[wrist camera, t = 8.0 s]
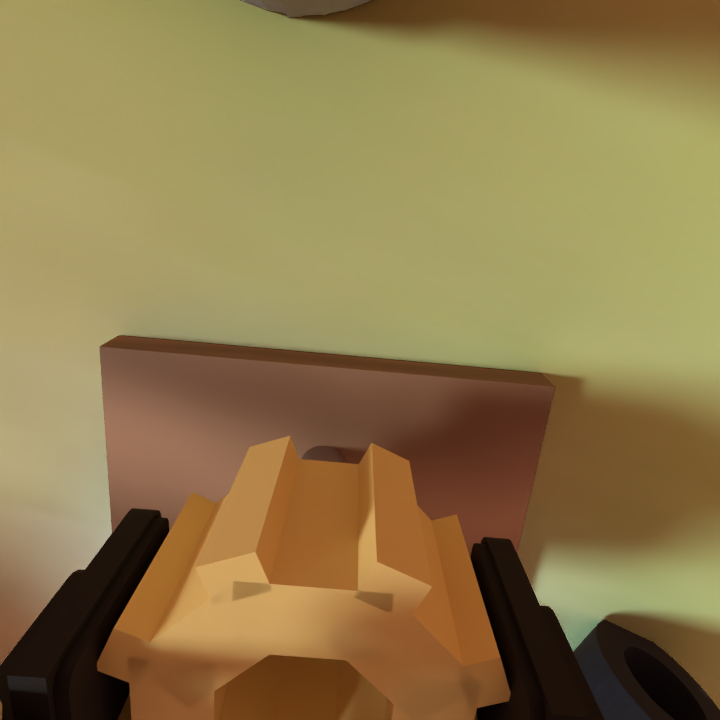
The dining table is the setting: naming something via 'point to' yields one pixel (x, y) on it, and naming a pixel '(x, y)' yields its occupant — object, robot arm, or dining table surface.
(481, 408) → the board
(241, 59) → the dining table surface
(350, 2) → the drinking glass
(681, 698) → the pipe connector
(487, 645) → the ochre gear
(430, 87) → the dining table surface
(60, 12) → the dining table surface
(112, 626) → the robot arm
